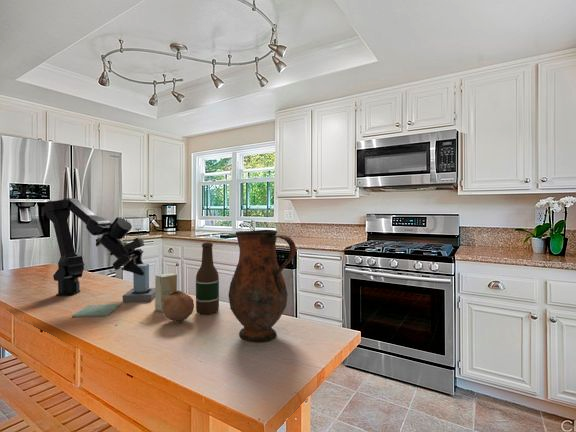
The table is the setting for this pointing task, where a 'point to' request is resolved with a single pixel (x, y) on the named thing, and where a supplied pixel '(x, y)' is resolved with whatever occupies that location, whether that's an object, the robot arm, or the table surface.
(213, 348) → the table surface
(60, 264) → the robot arm
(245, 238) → the pitcher
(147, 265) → the tall square blue prism
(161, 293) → the skincare box
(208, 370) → the table surface
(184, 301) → the onion
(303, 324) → the table surface
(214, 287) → the beer bottle
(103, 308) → the green mat
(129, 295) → the square socket block
